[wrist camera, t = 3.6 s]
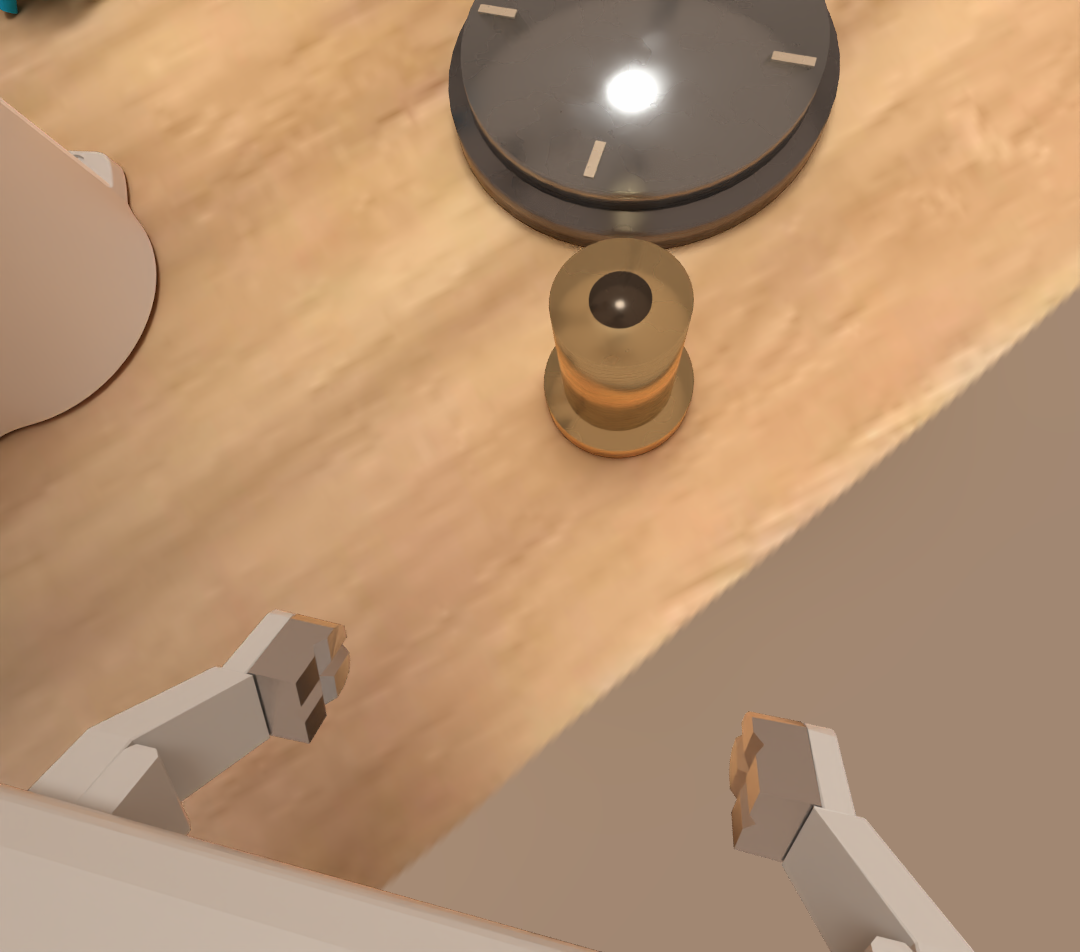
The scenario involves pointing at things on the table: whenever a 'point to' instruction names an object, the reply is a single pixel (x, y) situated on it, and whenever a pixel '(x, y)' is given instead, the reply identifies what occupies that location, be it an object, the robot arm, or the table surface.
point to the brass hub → (619, 347)
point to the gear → (9, 6)
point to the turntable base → (644, 225)
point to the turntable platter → (641, 92)
